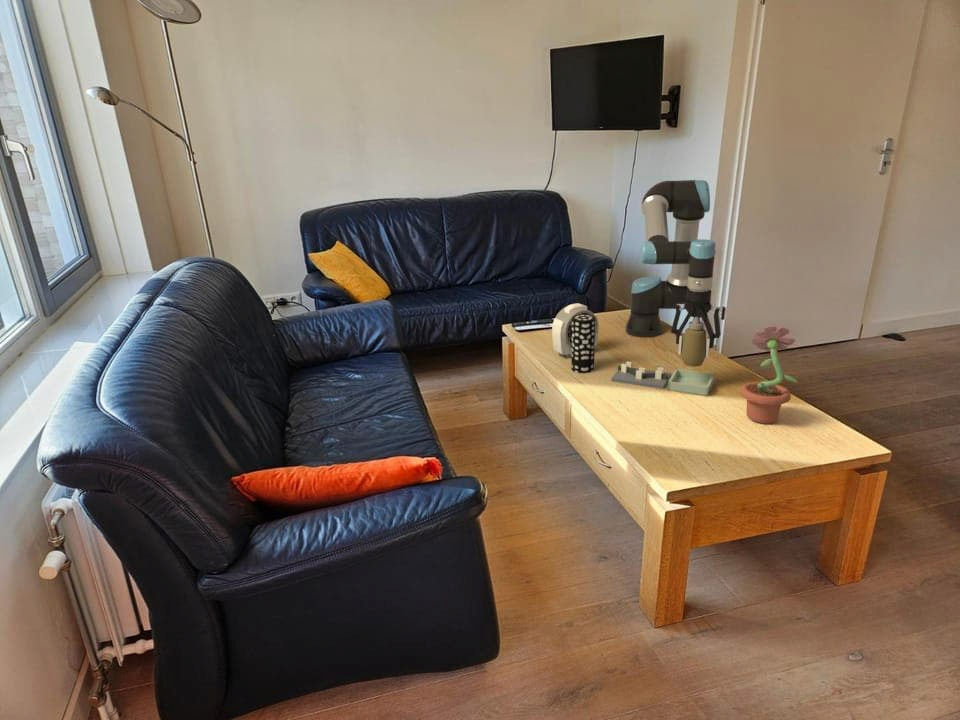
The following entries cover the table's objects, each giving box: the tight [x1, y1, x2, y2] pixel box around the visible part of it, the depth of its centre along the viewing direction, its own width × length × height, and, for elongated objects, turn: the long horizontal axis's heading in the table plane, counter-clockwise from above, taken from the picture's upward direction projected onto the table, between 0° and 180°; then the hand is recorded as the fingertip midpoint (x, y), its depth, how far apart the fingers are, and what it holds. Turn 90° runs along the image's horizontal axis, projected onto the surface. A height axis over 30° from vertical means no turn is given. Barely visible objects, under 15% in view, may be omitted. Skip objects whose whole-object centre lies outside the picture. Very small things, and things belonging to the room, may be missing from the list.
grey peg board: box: [610, 360, 672, 390], centre depth 221 cm, size 12×18×4 cm, turn 62°
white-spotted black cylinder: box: [570, 314, 596, 374], centre depth 229 cm, size 8×8×20 cm
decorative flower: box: [739, 325, 799, 425], centre depth 184 cm, size 15×14×30 cm
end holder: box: [666, 368, 715, 397], centre depth 213 cm, size 13×13×3 cm
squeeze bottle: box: [681, 317, 707, 368], centre depth 208 cm, size 8×8×18 cm
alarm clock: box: [551, 302, 600, 359], centre depth 244 cm, size 18×8×20 cm, turn 117°
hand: (693, 354), depth 210 cm, fingers closed on squeeze bottle, 8 cm apart
